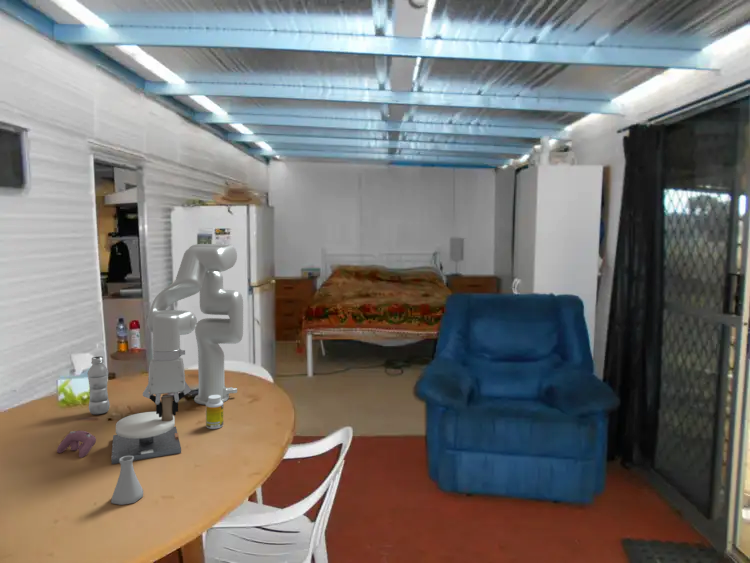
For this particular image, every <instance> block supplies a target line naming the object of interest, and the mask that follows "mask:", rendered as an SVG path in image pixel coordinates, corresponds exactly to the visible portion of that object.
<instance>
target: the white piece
mask: <svg viewBox="0 0 750 563" xmlns="http://www.w3.org/2000/svg"><path fill="white" fill-rule="evenodd" d="M173 399H174V395H171V394H169V395H168V394H167V395H166V394H165V395H162V396H160V401H161V406H162V417H159V414H156V411H144V412H140V413H139V412H138V413H134V414H130V415H128V416H125V417H122V418H121V419H119V420H117V422H116V423H115V435H118V436H121V437H124V438H147V437H152V436H157V435H160V434H163V433H165V432H168V431H169V430H171V429H172V428H173V427H175V424H176V423H175V421H176V420H175V418H176V416H174V415H173Z"/></svg>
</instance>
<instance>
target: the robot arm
mask: <svg viewBox="0 0 750 563" xmlns="http://www.w3.org/2000/svg"><path fill="white" fill-rule="evenodd" d="M237 252H238V251H237V249H236V248H235V246H234V245H232V244H216V243H213V244H212V243H199V244H192V245H191V246H189V247H188V248H187V249H186V250H185V251H184V253H183V256H182V259H181V261H180V265H179V268H178V271H177V274H176V276H175V279H174V281H173V282H172V283H170V284H169V285H168V286H166V287H165V288H164V289H163V290H161V291H160V292H159V293H158V294H157V295H156V297H155V298H154V300H153V302H152V304H151V307H150V310H149V312H148V315H147V320H146V324H147V328H148V330H149V332H151V333H152V359H150V360H149V367H148V381H147V382H148V383H147V385H146V387H145V389H144V390H143V392H142V397H145V398H146V399H149V400H150V401H152V402H153V403H154V404H155V409H156V410H155V412H156V414H159V417H162V406H161V397H162V396H161V395H164V394H165V395H166V394H173V416H174V417H176V416H177V412H179V402H180V400H181V399H182V398H183V397H184V396H186V395H187V394H189V393H190V392H191V391H192V390H191V388H190V386H189V385H188V383H187V382H186V375H185V373H186V372H185V365H184V360H183V357H182V356H185V355H186V350H185V349H184V350H183V349H181V336H184V335H189V334H191V333H193V332H194V333H195V339H196V344H197V346H196V347H197V356H198V357H197V358H198V359H197V364H198V365H197V366H198V372H197V373H198V394H197V395H195V396H194V399H193V400H194V402H195V403H196V404H199V405H206V403H207V402H208V397H209V396H211V395H220V396H221V401H222V402H223V403H224V402H227V401H228V400H229V398H230V394H237V393H238V388H237V387H233V386H230V387H226V385H225V352H224V350H223V349H222V347H221V346H220V345H221V344H223V345H224V344H226V345H227V344H228V345H234V344H238V343H241V341H242V339H243V335H244V299H243V296H242V294H241V292H240V291H238V290H231V289H224V276H223V272H225V271H228V270H230V269H232V268H233V267H235V264H236V263H237V259H238V253H237ZM198 293H199V309H200V312H201V313H202V314H205V315H212V316H228V318H220V317H214V318H213V317H207V318H202V319H199V320H198V321H197V317H196V314H194V313H193V311H189V310H183V309H182V310H177V309H174V310H173V309H168V308H169V307H170V306H171V305H172V304H175V303H176V302H178V301H179V302H180V301H181V300H183V299H184V300H185V299H186V298H189V297H192V296H194V295H196V294H198Z"/></svg>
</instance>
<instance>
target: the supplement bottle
mask: <svg viewBox="0 0 750 563" xmlns="http://www.w3.org/2000/svg"><path fill="white" fill-rule="evenodd" d="M223 426H224V402H222V401H221V396H220V395H211V396H209V397H208V402H207V403H206V404H205V427H206V428H207V429H210V430H216V429H220V428H223Z"/></svg>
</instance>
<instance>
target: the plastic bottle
mask: <svg viewBox="0 0 750 563" xmlns="http://www.w3.org/2000/svg"><path fill="white" fill-rule="evenodd" d="M104 363H105V359H104V356H93V357H91V364H92V365H91V366H90V367H89V369H88V371H87V379H88V384H89V403H88V410H89V413H90V414H91V415H102V414H106V413H107V412H109V410H110V406H111V402H110V400H109V395H108V380H109V378H108V377H109V370H108V368H107V366H106V365H105V364H104Z"/></svg>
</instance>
